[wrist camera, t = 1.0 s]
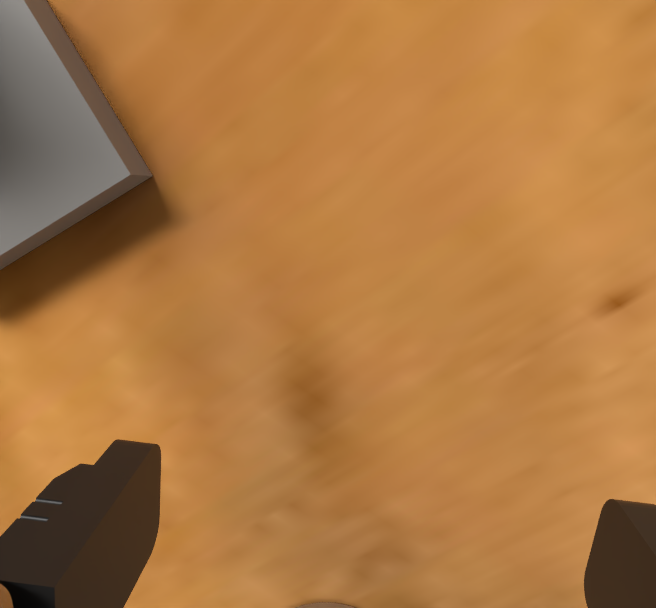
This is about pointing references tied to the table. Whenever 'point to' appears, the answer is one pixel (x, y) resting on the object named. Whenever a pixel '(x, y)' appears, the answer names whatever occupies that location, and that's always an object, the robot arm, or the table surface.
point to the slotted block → (53, 133)
